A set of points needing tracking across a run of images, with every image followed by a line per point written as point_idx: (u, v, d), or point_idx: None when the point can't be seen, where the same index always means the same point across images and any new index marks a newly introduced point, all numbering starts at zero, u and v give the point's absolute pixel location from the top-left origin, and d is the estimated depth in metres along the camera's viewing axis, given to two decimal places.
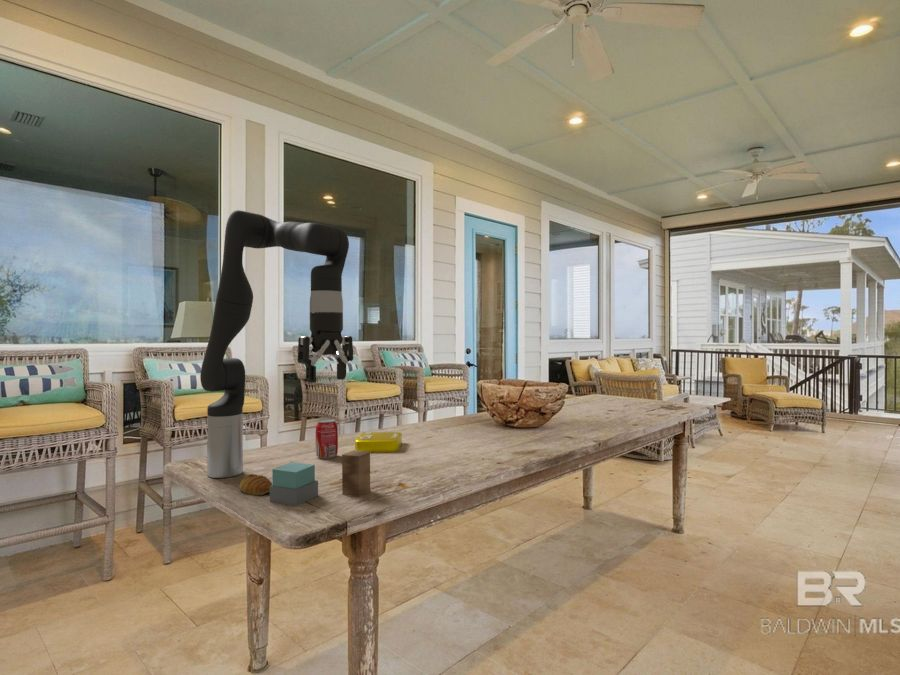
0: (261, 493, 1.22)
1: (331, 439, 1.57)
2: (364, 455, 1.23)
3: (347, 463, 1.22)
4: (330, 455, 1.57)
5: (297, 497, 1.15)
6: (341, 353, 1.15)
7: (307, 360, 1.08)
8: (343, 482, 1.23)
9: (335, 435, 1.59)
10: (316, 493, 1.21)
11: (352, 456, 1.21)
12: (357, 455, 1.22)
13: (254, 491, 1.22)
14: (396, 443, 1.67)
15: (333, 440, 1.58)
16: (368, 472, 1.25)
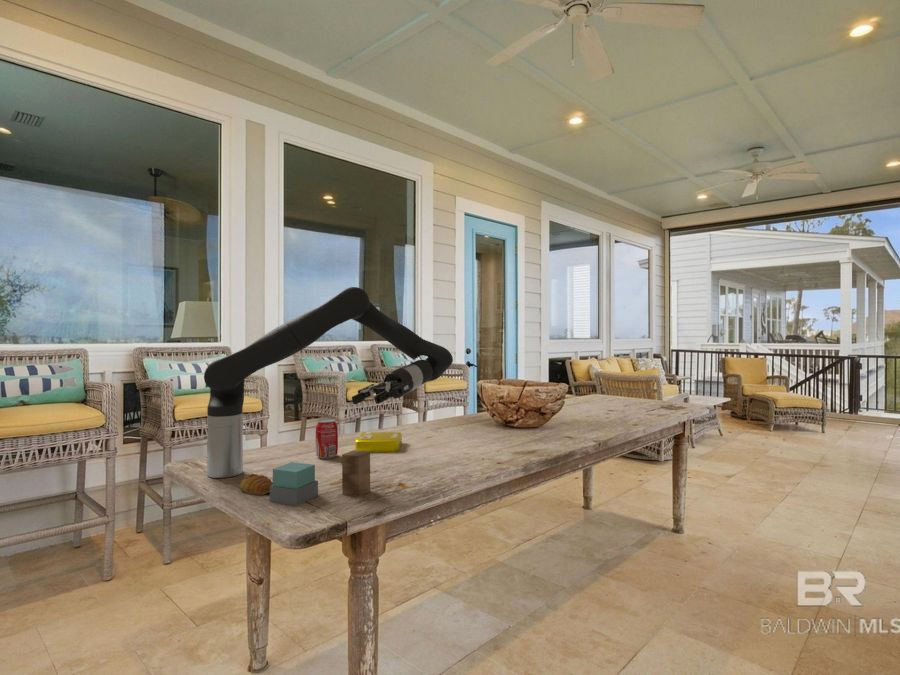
0: (262, 493, 1.22)
1: (331, 439, 1.57)
2: (364, 455, 1.23)
3: (347, 463, 1.22)
4: (330, 455, 1.57)
5: (297, 497, 1.15)
6: None
7: None
8: (343, 482, 1.23)
9: (335, 435, 1.59)
10: (316, 493, 1.21)
11: (352, 456, 1.21)
12: (357, 455, 1.22)
13: (256, 491, 1.22)
14: (396, 443, 1.67)
15: (333, 440, 1.58)
16: (368, 472, 1.25)
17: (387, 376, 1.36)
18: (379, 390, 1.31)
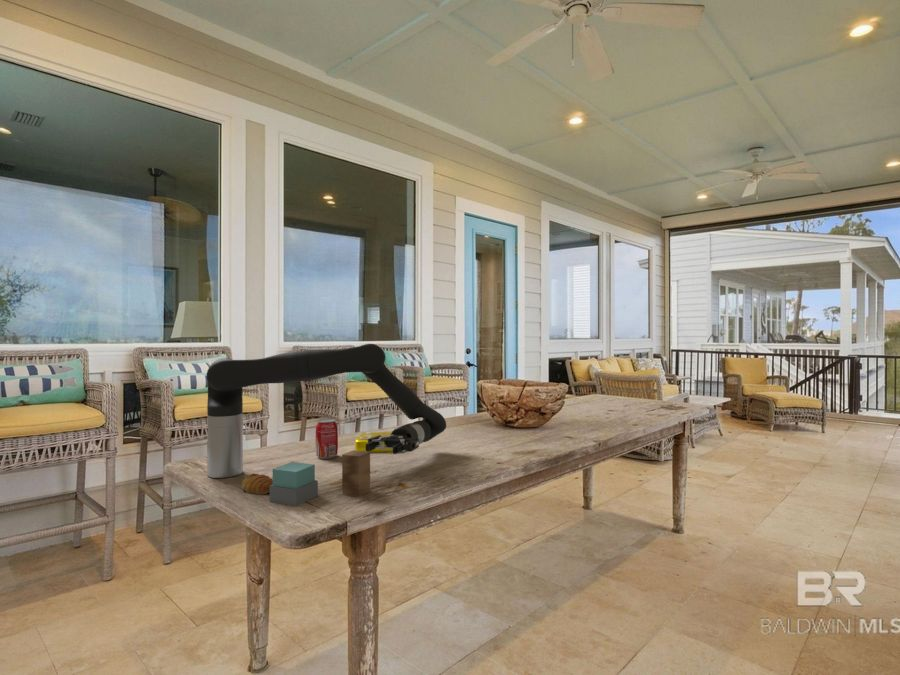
0: (264, 492, 1.23)
1: (331, 439, 1.57)
2: (364, 455, 1.23)
3: (347, 463, 1.22)
4: (330, 455, 1.57)
5: (297, 497, 1.15)
6: None
7: None
8: (343, 482, 1.23)
9: (335, 435, 1.59)
10: (315, 493, 1.21)
11: (352, 456, 1.21)
12: (357, 455, 1.22)
13: (258, 490, 1.23)
14: None
15: (333, 440, 1.58)
16: (368, 472, 1.25)
17: (396, 430, 1.45)
18: (391, 442, 1.40)
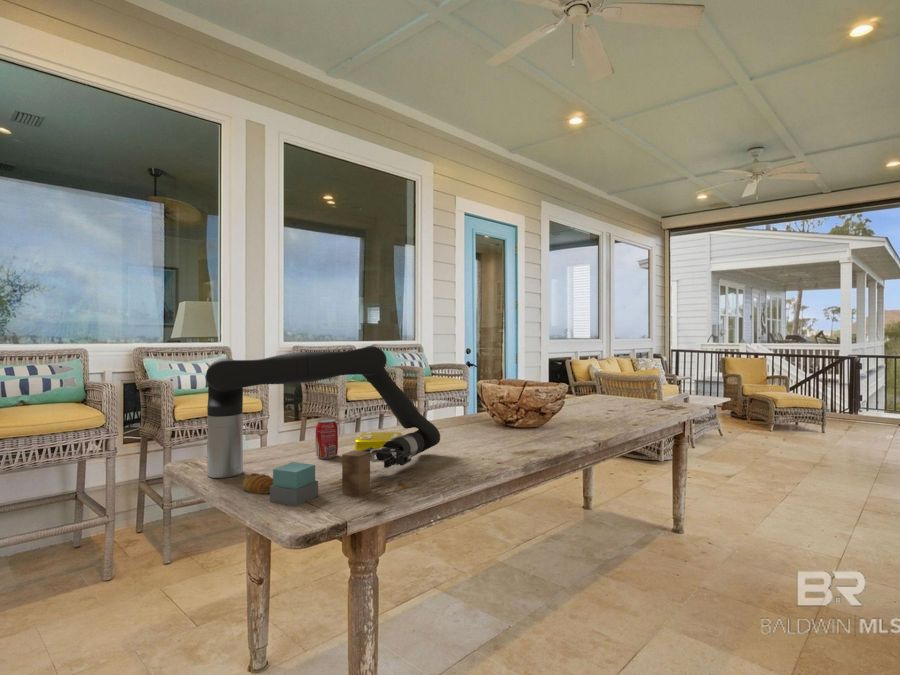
0: (265, 492, 1.23)
1: (331, 439, 1.57)
2: (364, 455, 1.23)
3: (347, 463, 1.22)
4: (330, 455, 1.57)
5: (297, 497, 1.15)
6: None
7: None
8: (343, 482, 1.23)
9: (335, 435, 1.59)
10: (316, 493, 1.21)
11: (352, 456, 1.21)
12: (357, 455, 1.22)
13: (259, 490, 1.23)
14: None
15: (333, 440, 1.58)
16: (368, 472, 1.25)
17: (388, 442, 1.42)
18: (382, 455, 1.36)
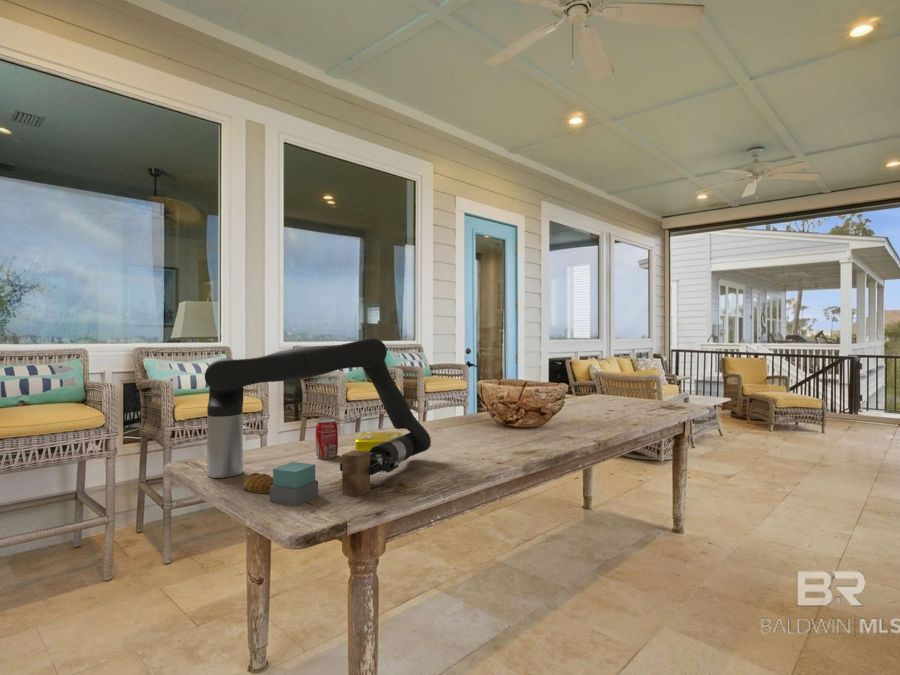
0: (267, 491, 1.23)
1: (331, 439, 1.57)
2: (364, 455, 1.23)
3: (347, 463, 1.22)
4: (330, 455, 1.57)
5: (297, 497, 1.15)
6: None
7: None
8: (343, 482, 1.23)
9: (335, 435, 1.59)
10: (316, 493, 1.21)
11: (352, 456, 1.21)
12: (357, 455, 1.22)
13: (260, 489, 1.24)
14: None
15: (333, 440, 1.58)
16: (368, 472, 1.25)
17: (375, 448, 1.35)
18: None
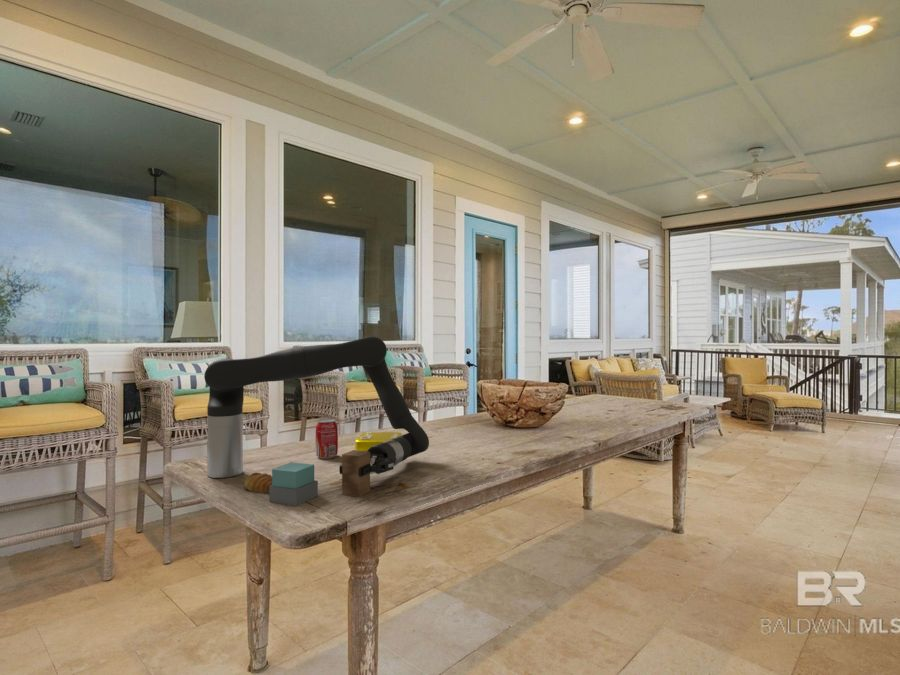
0: (268, 491, 1.24)
1: (331, 439, 1.57)
2: (364, 455, 1.23)
3: (347, 463, 1.22)
4: (330, 455, 1.57)
5: (297, 497, 1.15)
6: None
7: None
8: (343, 482, 1.23)
9: (335, 435, 1.59)
10: (315, 493, 1.21)
11: (352, 456, 1.21)
12: (357, 455, 1.22)
13: (261, 489, 1.24)
14: None
15: (333, 440, 1.58)
16: None
17: (372, 449, 1.33)
18: None
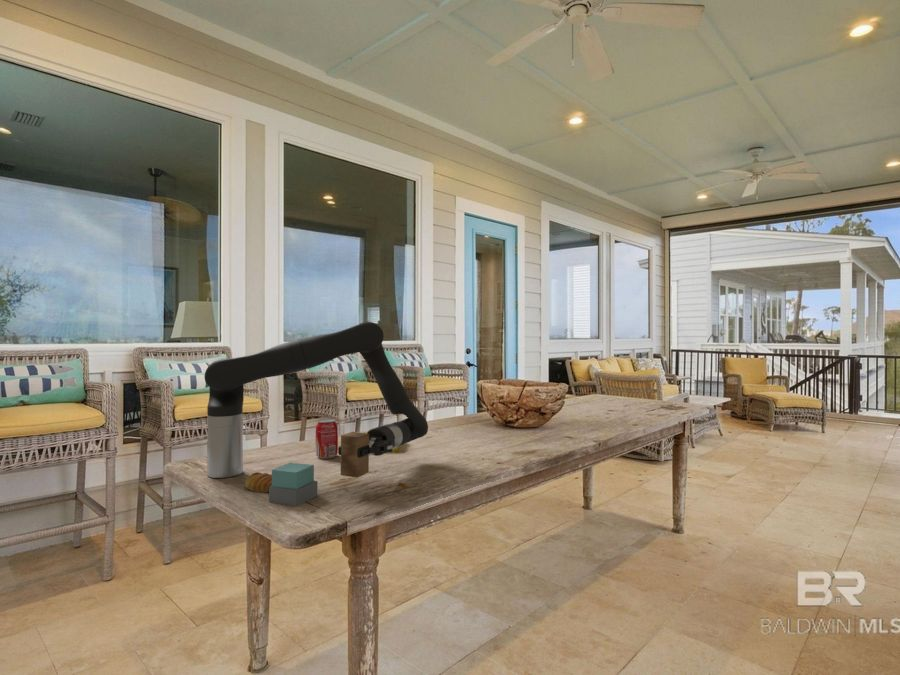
0: None
1: (331, 439, 1.57)
2: (363, 436, 1.23)
3: (346, 444, 1.22)
4: (330, 455, 1.57)
5: (296, 497, 1.15)
6: None
7: None
8: (341, 463, 1.22)
9: (335, 435, 1.59)
10: (315, 493, 1.21)
11: (351, 437, 1.21)
12: (356, 436, 1.22)
13: (263, 488, 1.24)
14: None
15: (333, 440, 1.58)
16: None
17: (371, 431, 1.33)
18: None
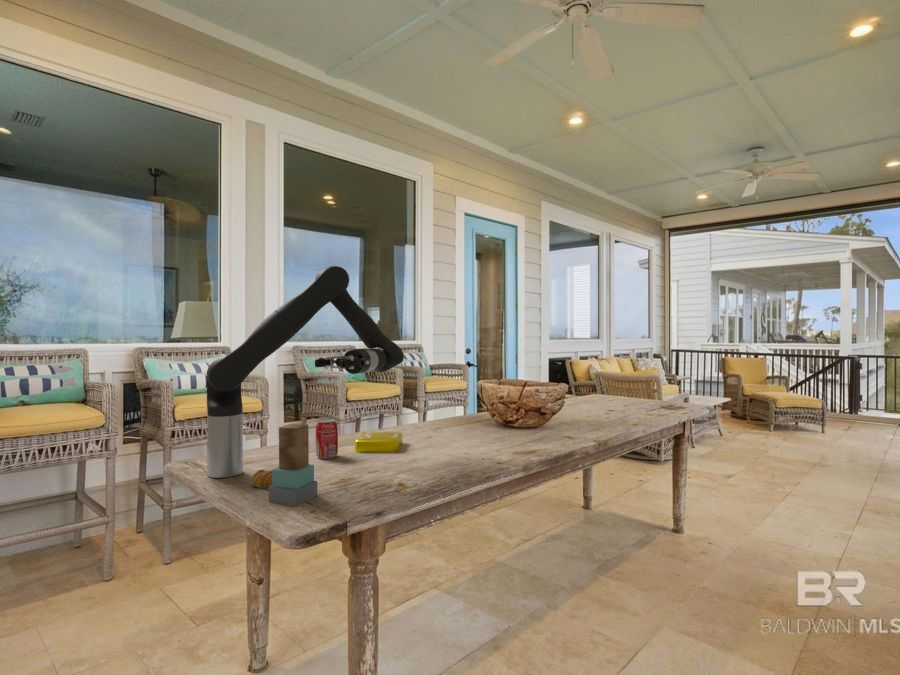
0: None
1: (331, 439, 1.57)
2: (302, 427, 1.19)
3: (284, 436, 1.18)
4: (330, 455, 1.57)
5: (296, 498, 1.15)
6: None
7: None
8: (280, 456, 1.18)
9: (335, 435, 1.59)
10: (315, 493, 1.21)
11: (289, 428, 1.18)
12: (295, 427, 1.18)
13: None
14: (396, 443, 1.67)
15: (333, 440, 1.58)
16: (306, 445, 1.21)
17: (348, 352, 1.46)
18: (341, 360, 1.41)
